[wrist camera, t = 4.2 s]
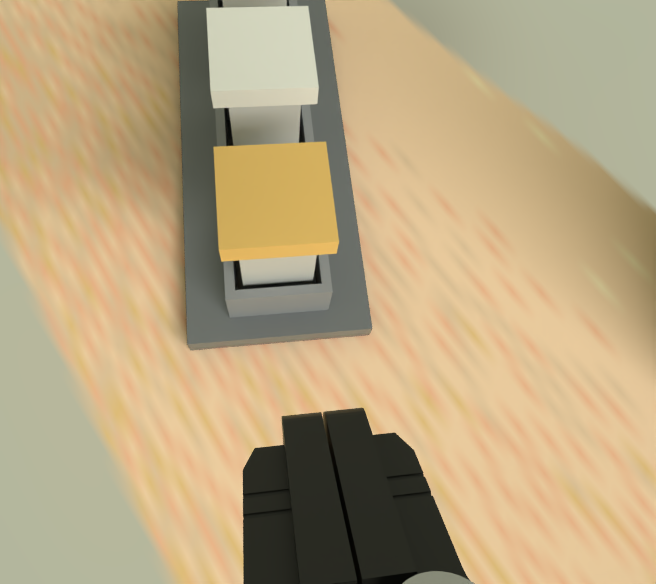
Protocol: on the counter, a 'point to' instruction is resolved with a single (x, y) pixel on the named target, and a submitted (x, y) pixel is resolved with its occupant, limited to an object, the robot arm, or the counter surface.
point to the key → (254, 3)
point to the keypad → (201, 213)
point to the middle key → (262, 70)
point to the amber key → (275, 209)
